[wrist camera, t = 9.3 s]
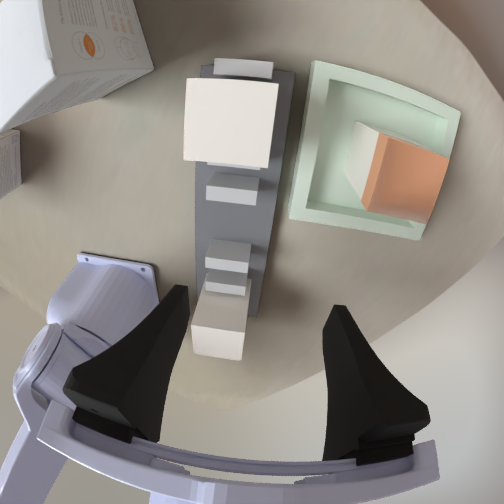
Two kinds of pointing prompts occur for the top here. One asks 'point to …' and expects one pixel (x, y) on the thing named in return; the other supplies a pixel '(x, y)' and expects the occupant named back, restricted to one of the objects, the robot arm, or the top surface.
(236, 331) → the block
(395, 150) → the block
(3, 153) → the light bulb box
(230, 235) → the fuse holder
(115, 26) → the small box
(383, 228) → the tray
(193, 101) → the block
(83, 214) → the top surface
